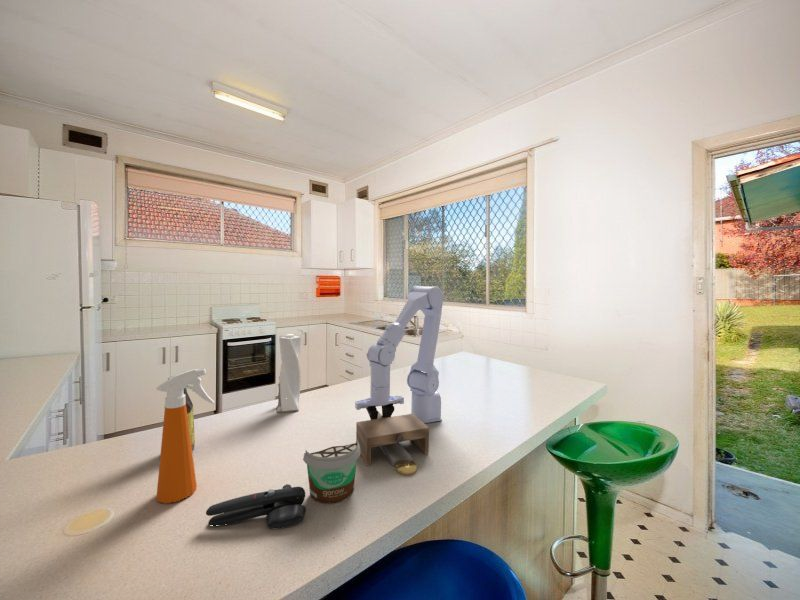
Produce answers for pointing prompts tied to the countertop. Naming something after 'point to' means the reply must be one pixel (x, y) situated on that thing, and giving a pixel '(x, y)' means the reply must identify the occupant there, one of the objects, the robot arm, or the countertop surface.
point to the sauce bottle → (189, 416)
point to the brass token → (406, 467)
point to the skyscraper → (289, 373)
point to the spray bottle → (178, 438)
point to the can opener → (262, 508)
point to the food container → (332, 472)
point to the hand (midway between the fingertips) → (379, 429)
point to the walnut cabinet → (391, 433)
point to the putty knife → (394, 450)
